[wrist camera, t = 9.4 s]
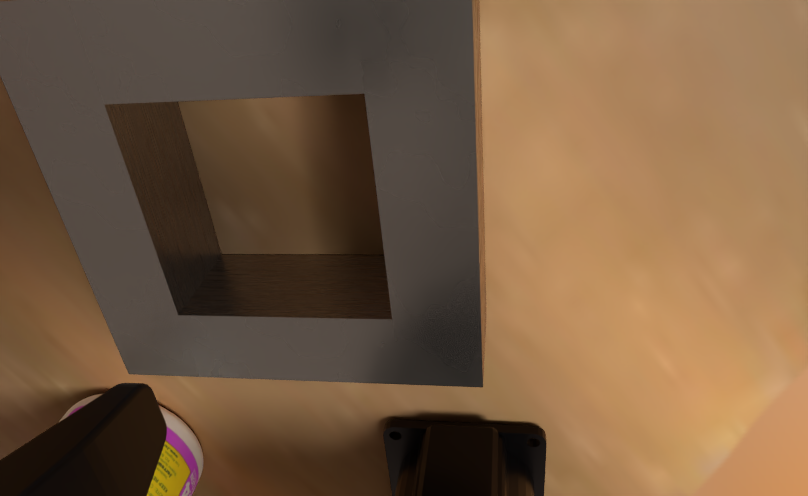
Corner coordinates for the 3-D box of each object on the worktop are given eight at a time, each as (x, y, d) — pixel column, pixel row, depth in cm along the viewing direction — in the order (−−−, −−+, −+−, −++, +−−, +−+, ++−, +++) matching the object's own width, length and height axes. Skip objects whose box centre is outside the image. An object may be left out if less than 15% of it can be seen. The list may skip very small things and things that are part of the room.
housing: (486, 316, 22) (483, 387, 19) (174, 311, 24) (128, 373, 21) (477, -54, 16) (471, -34, 13) (57, -21, 18) (-31, 3, 15)
